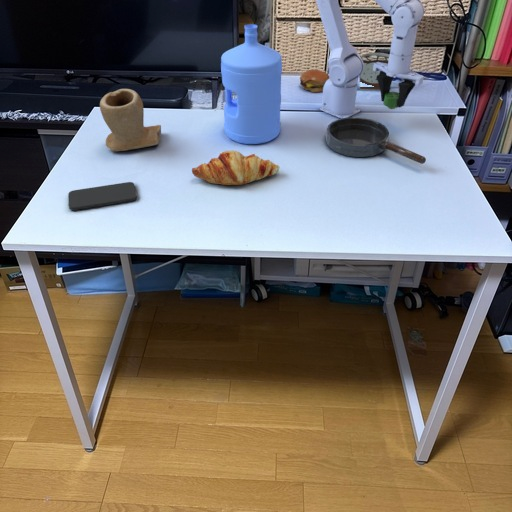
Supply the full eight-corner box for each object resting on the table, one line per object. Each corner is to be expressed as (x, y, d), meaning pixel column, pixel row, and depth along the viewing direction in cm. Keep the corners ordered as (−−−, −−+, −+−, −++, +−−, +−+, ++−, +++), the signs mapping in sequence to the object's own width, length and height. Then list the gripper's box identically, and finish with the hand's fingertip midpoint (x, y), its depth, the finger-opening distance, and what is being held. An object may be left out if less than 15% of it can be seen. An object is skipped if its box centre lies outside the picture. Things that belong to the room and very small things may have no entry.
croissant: (276, 179, 126) (275, 147, 124) (284, 182, 116) (282, 148, 114) (193, 185, 123) (190, 152, 122) (193, 188, 114) (190, 153, 112)
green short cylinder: (379, 107, 137) (381, 93, 134) (389, 102, 139) (391, 89, 137) (393, 113, 134) (396, 99, 132) (403, 107, 137) (406, 94, 134)
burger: (326, 80, 166) (327, 66, 163) (332, 92, 159) (333, 77, 156) (297, 82, 165) (297, 68, 162) (301, 93, 158) (302, 79, 155)
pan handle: (379, 148, 127) (380, 141, 126) (384, 145, 128) (385, 138, 127) (421, 166, 120) (423, 159, 119) (426, 163, 121) (428, 156, 120)
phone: (137, 197, 113) (68, 208, 110) (137, 200, 113) (69, 211, 110) (133, 181, 118) (68, 190, 115) (134, 184, 119) (69, 193, 115)
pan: (313, 142, 134) (314, 130, 131) (351, 123, 142) (353, 112, 140) (361, 164, 125) (363, 152, 122) (399, 143, 133) (401, 131, 131)
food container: (391, 83, 163) (396, 52, 157) (393, 91, 159) (398, 59, 152) (353, 82, 164) (357, 51, 158) (354, 89, 160) (358, 58, 153)
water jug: (283, 121, 143) (287, 18, 125) (275, 147, 131) (278, 38, 113) (231, 117, 145) (226, 15, 127) (218, 143, 134) (211, 34, 115)
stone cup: (107, 160, 127) (94, 104, 117) (106, 138, 136) (94, 85, 126) (166, 152, 130) (158, 98, 120) (161, 132, 139) (154, 79, 129)
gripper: (368, 49, 129) (362, 99, 138) (416, 63, 121) (406, 115, 130) (385, 43, 133) (377, 92, 142) (432, 56, 125) (421, 107, 134)
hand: (392, 103), depth 136 cm, fingers closed on green short cylinder, 5 cm apart
